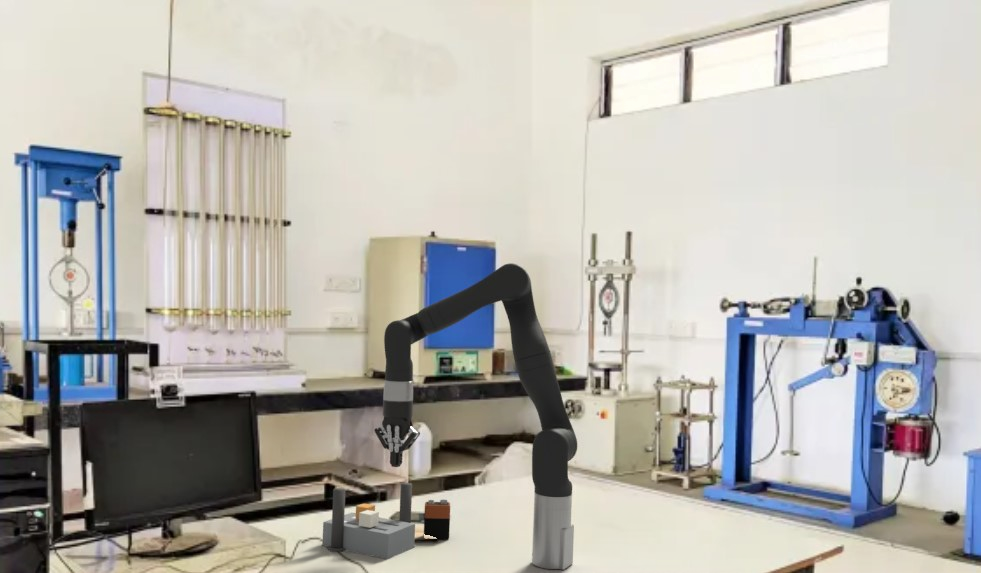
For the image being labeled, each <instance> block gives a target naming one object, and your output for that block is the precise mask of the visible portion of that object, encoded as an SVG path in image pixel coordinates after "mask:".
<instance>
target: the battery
mask: <svg viewBox="0 0 981 573" xmlns="http://www.w3.org/2000/svg"><path fill="white" fill-rule="evenodd" d="M423 515H424V516H423V517H424V519H423V520H424V521H423V535H424V534H425V535H430V536H433V537H436V538H437V539H438V541H439V540H440V541H441V540H443V541H445V540H446V541H447V540H449V539H450V529H451V528H450V523H451V502H449V501H448V500H447V499H440V500H439V501H435V500H434V499H428V500H427V501H425V503H424V514H423Z"/></svg>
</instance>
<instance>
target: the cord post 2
mask: <svg viewBox="0 0 981 573" xmlns="http://www.w3.org/2000/svg"><path fill="white" fill-rule="evenodd" d="M399 494H400V496H399V520H398V521H402V522H408V523H412V503H413V502H412V501H413V500H412V498H413V483H411V482H402V483H400V493H399Z"/></svg>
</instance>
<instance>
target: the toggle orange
mask: <svg viewBox="0 0 981 573" xmlns="http://www.w3.org/2000/svg"><path fill="white" fill-rule="evenodd" d="M366 510H370V511H376V505H374V504H371V503H369V504H368V503H361V504H358V505H356V506H355V513H356V519H359V513H360V512H363V511H366Z"/></svg>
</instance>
